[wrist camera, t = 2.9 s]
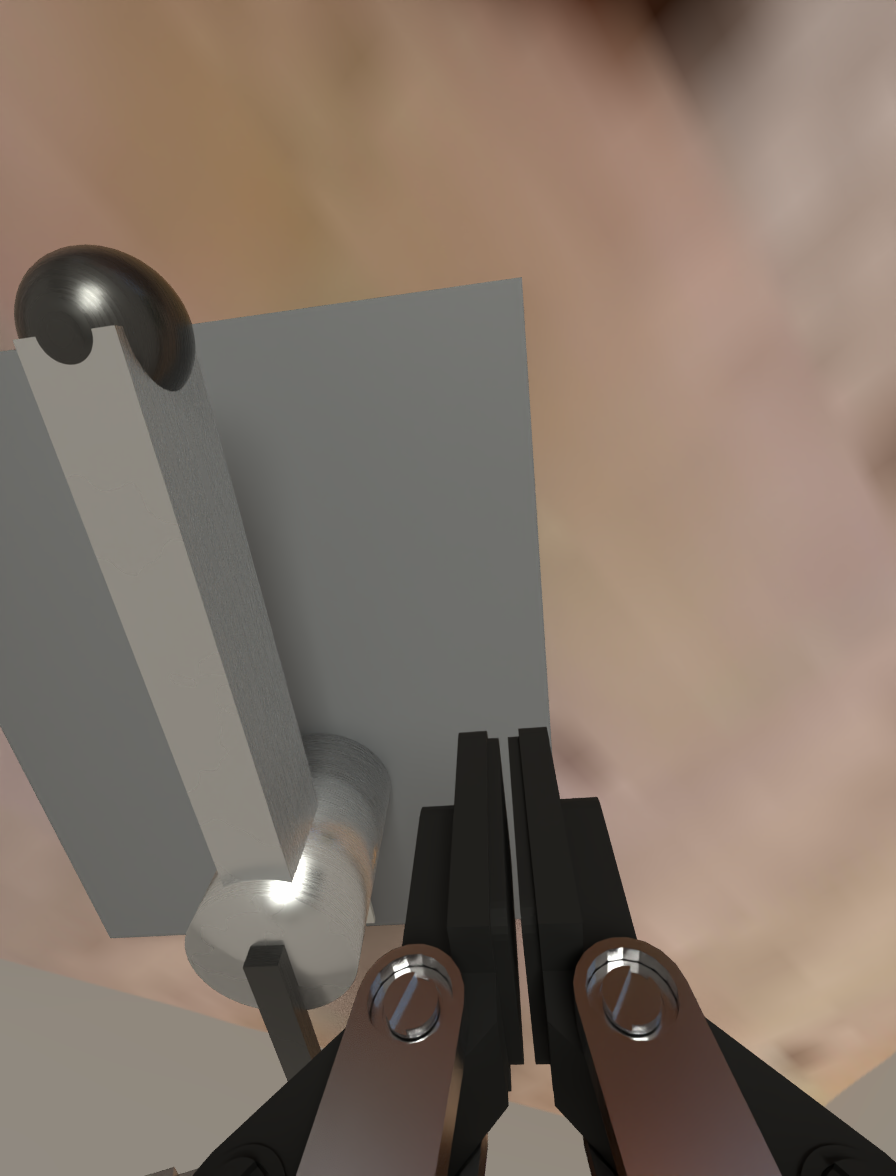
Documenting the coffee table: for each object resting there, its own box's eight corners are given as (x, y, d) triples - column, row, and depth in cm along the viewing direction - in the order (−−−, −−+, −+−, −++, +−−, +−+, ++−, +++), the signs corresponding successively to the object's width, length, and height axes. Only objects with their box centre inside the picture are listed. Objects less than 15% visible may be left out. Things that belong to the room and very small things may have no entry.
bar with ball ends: (112, 289, 16) (-170, 242, 9) (283, 263, 15) (127, 192, 8) (303, 900, 25) (239, 1111, 18) (413, 895, 25) (390, 1108, 18)
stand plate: (-133, 375, 19) (-189, 377, 17) (517, 283, 17) (522, 275, 16) (127, 910, 29) (107, 943, 27) (557, 887, 27) (563, 921, 26)
